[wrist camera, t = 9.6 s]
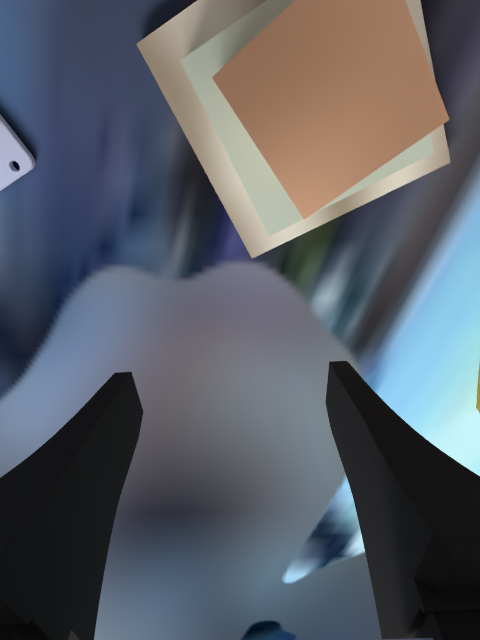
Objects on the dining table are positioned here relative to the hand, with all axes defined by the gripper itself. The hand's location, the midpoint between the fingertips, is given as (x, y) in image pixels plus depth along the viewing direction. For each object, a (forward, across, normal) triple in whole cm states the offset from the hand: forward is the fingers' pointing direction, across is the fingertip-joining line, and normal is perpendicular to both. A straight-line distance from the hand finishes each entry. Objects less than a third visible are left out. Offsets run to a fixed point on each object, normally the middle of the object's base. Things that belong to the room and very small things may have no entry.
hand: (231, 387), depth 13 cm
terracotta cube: (+7, -4, -9) cm, 12 cm away
